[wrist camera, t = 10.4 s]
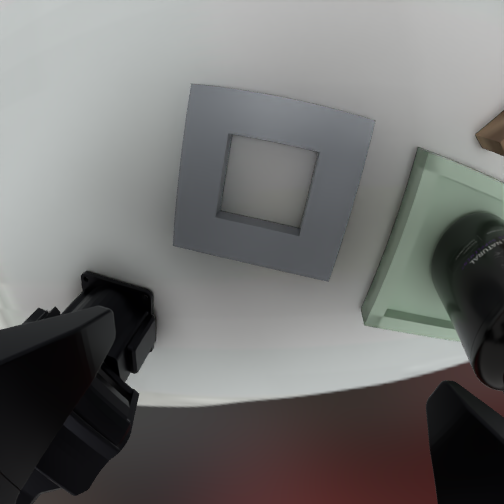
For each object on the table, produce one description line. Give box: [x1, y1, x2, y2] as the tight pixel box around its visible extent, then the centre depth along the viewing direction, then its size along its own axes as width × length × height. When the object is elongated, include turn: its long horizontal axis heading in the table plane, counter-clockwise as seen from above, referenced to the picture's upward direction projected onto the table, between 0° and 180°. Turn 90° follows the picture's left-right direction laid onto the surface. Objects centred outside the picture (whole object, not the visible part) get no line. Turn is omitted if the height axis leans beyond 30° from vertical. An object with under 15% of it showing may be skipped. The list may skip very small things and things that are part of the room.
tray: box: [361, 147, 504, 342], centre depth 18 cm, size 12×12×2 cm
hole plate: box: [173, 84, 375, 282], centre depth 18 cm, size 10×10×1 cm
